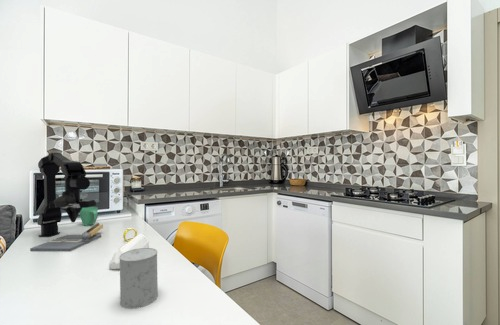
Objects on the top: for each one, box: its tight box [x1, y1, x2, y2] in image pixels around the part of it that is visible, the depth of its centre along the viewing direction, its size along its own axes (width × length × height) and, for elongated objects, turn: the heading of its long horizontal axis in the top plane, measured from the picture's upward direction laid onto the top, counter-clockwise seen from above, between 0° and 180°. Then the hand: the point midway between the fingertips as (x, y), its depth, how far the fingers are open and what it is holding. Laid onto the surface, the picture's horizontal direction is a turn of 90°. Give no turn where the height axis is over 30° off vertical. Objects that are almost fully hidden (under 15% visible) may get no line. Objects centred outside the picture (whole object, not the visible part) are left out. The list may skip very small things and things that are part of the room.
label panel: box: [29, 234, 102, 252], centre depth 117 cm, size 19×20×2 cm
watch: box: [122, 227, 138, 242], centre depth 120 cm, size 6×3×6 cm, turn 140°
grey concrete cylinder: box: [119, 247, 159, 310], centre depth 69 cm, size 10×10×12 cm
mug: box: [78, 206, 99, 227], centre depth 150 cm, size 15×10×10 cm
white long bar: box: [108, 232, 150, 271], centre depth 98 cm, size 7×7×24 cm
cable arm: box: [81, 222, 104, 239], centre depth 124 cm, size 19×4×3 cm, turn 14°
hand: (73, 222), depth 116 cm, fingers closed
